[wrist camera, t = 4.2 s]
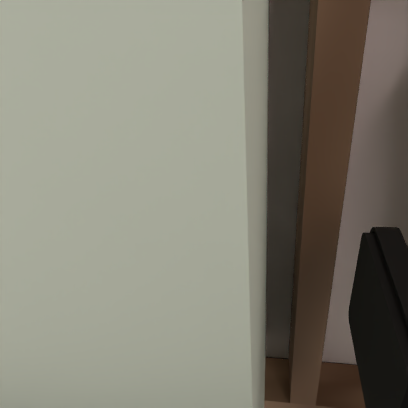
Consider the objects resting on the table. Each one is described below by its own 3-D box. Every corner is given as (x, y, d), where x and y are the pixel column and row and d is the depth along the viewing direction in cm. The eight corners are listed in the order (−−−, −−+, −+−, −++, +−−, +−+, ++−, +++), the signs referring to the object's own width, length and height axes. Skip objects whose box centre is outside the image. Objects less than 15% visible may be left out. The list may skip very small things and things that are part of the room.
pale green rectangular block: (269, -56, 9) (239, -48, 2) (266, 333, 17) (258, 640, 9) (146, -44, 10) (-278, 0, 2) (197, 328, 17) (139, 616, 10)
